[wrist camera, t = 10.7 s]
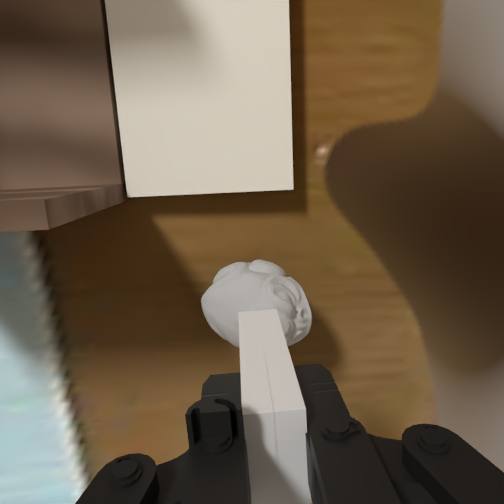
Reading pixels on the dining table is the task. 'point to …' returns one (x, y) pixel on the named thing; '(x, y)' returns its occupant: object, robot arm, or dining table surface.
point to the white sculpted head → (256, 299)
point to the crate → (57, 114)
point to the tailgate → (202, 95)
